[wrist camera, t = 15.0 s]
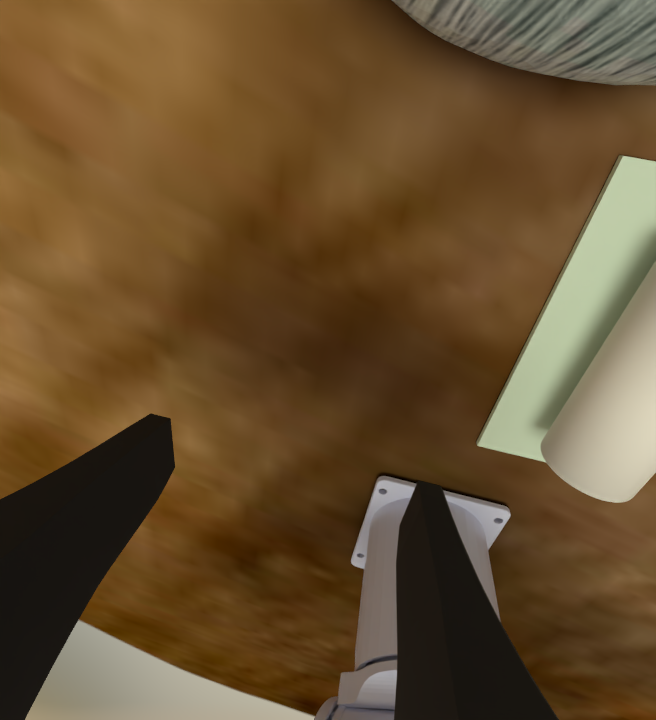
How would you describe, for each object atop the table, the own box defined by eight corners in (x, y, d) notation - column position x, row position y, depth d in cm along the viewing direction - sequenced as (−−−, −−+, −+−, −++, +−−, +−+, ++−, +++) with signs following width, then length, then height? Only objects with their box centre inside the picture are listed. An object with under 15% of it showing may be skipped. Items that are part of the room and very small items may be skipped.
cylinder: (612, 445, 19) (653, 513, 16) (531, 425, 20) (554, 487, 16) (766, 247, 14) (877, 287, 11) (650, 224, 14) (722, 256, 11)
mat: (627, 478, 20) (630, 482, 20) (476, 441, 21) (477, 445, 21) (865, 199, 13) (874, 200, 13) (619, 155, 14) (623, 155, 13)
